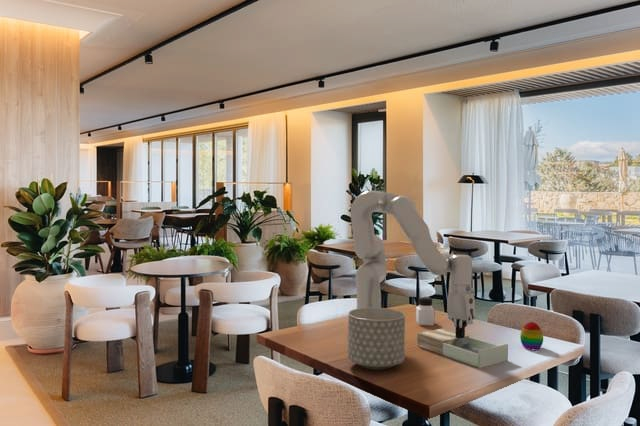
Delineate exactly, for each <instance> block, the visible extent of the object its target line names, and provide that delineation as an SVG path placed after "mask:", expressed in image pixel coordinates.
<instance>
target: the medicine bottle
mask: <svg viewBox="0 0 640 426" xmlns="http://www.w3.org/2000/svg"><path fill="white" fill-rule="evenodd" d="M415 312H416V313H415V322H416V323H417V324H418V326H435V314H436V311H435V309H434V308H433V298H431V297H429V296H420V297H419V298H418V306H416V309H415Z"/></svg>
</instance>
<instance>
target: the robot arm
mask: <svg viewBox="0 0 640 426" xmlns="http://www.w3.org/2000/svg"><path fill="white" fill-rule="evenodd" d="M377 212H378V213H381V214H382V213H383V214H386V215H387V214H388V215H391V216H392V217H393V218H394V219H395V220H396V222H397V224H398V225H399V226H400V228H401V229H402V231H403V232H404V234H405V235H406V237H408V239H409V242H410V244H411V246H412V247H413V250H414V251H415V253H416V255H417V256H418V258H419V260H420V261H421V263H422V264H423V265H424V267H425V268H426V270H427V271H429V273H431V274H432V275H434V276H438V277H439V276H442V275H445V274H446V273H450V288H449V291H448V297H447V305H446V306H447V307H446V313H447V316H448V319H449V320H450V321H452V322H453V326H454V327H455V332H456V338H459V339H460V338H464V337H465V335H466V332H465V331H466V328H467V326H468V325H473V324H474V322H473V321H474V320H475V319H476V300H475V295H474V293H473V290H474V287H473V286H472V277H473V276H472V275H473V274H472V273H473V268H472V267H473V259H472V257H471V256H470V255H468V254H451V253H446V252H440V250H439V249H438V247H437V246H436V244H435V243H434V241H433V239H432V237H431V233H430V228H429V226H428V224H427V223H426V222H425V220H424V219H423V218H422V216H421V215H420V214H419V212H418V211H417V209H416V203H415V201H414V200H413V198H411V197H409V196H408V195H407V196H406V195H401V194H395V193H391V192H386V191H381V190H367V191H364V192H362V193H360V194H359V195H358V196H356V197H355V199H354V200H353V202H352V204H351V206H350V221H351V228H352V230H351V231H352V237H353V238H352V240H353V244H354V247H353V248H354V252H355V254H356V256H357V257H358V258H359V259H361V260H362V262H363V263H362V264H361V265H360V266H359V267H357V270H356V272H355V277H354V279H355V286H356V289H355V290H356V309H359V308H382V291H381V283H382V282H383V281H384V280H385V279H386V277H387V272H388V270H387V261H386V254H385V247H384V243H383V240H382V239H381V238H380V237H379V236H378V235H376V234H375V227H374V221H373V218H372V215H373V213H377ZM346 340H347V341H348V334H347V335H346Z"/></svg>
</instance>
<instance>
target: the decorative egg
mask: <svg viewBox="0 0 640 426" xmlns="http://www.w3.org/2000/svg"><path fill="white" fill-rule="evenodd" d="M543 334H544V333H543V331H542V329H541V327H540V326H539V324H537V323H536V322H534V321H529V322H527V323H526V324H524V326H523V327H522V328H521V331H520V334H519V335H520V336H519V337H520V342H521V343H520V344H521V345H522V346H523V348H525V347H526V348H525V349H527V348H529V349H528V350H532V349H537V350H539V349H540V348H541V347H542V346H543V343H544V335H543Z"/></svg>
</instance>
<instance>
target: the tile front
mask: <svg viewBox="0 0 640 426" xmlns="http://www.w3.org/2000/svg"><path fill="white" fill-rule="evenodd" d="M461 348H462V349H465V350H468V351H471V352H474V353H477V354H478V350H480V349H478V348H475V347H472V346H466V347H461Z"/></svg>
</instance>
